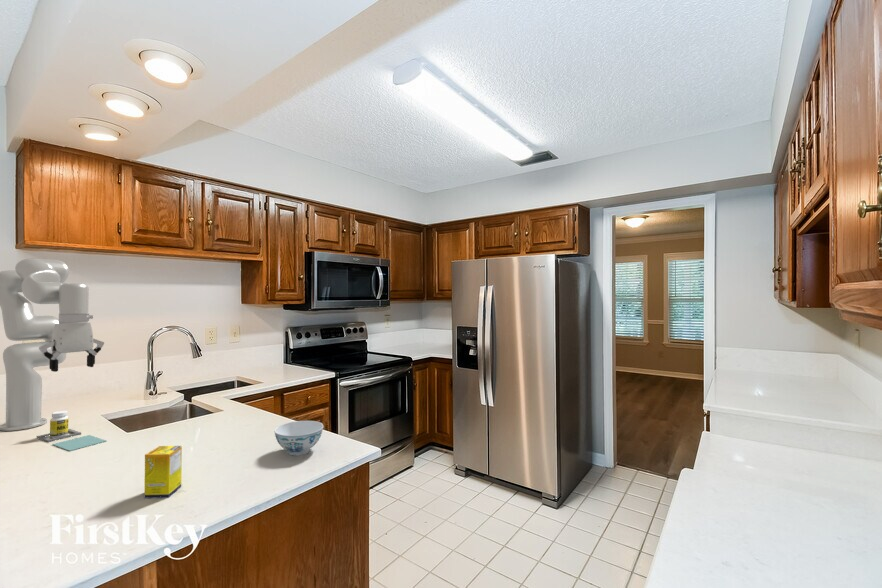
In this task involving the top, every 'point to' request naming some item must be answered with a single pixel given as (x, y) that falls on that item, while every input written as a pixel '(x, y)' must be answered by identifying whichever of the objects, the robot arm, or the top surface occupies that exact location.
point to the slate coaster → (58, 437)
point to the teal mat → (79, 443)
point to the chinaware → (298, 436)
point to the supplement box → (163, 471)
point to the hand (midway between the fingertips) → (72, 368)
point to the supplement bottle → (59, 424)
